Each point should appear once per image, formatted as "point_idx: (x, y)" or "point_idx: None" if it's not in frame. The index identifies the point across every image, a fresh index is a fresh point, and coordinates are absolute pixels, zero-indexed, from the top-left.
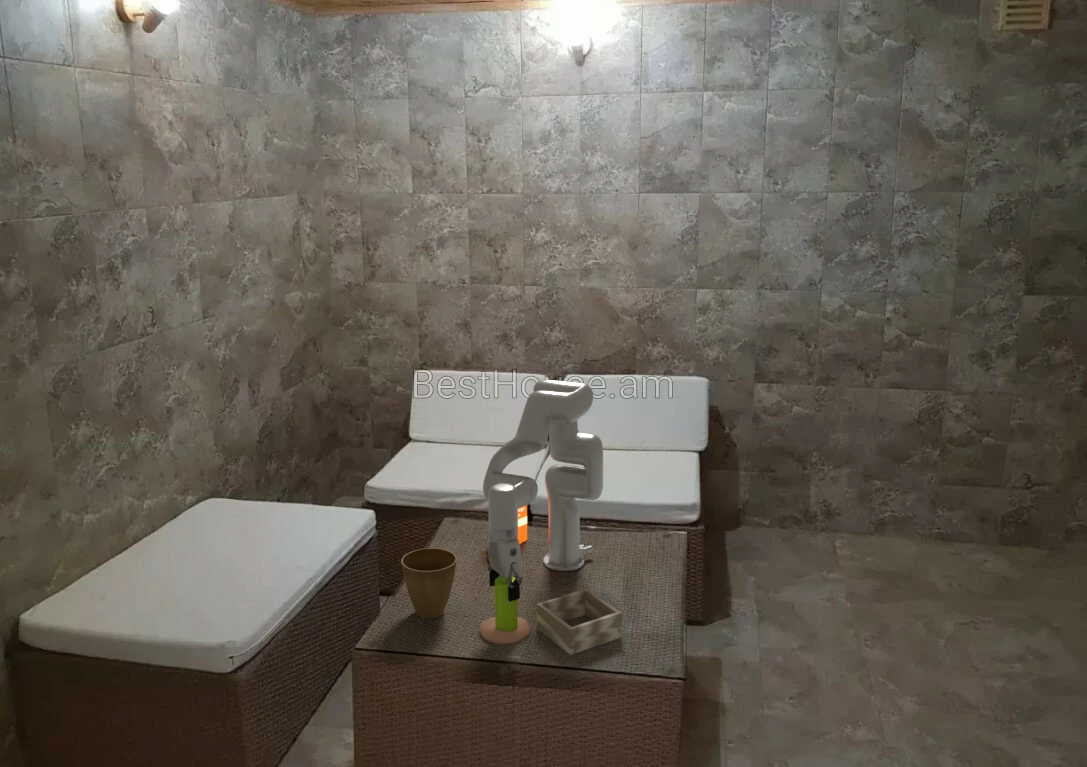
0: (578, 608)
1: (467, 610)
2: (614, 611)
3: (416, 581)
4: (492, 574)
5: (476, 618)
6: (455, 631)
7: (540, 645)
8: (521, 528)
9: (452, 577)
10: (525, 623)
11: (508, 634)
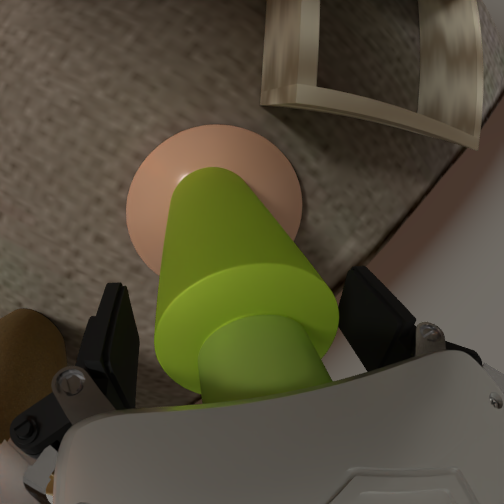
0: None
1: (40, 257)
2: None
3: None
4: (133, 401)
5: (91, 254)
6: (141, 326)
7: (350, 163)
8: None
9: (22, 401)
10: (235, 138)
11: None
